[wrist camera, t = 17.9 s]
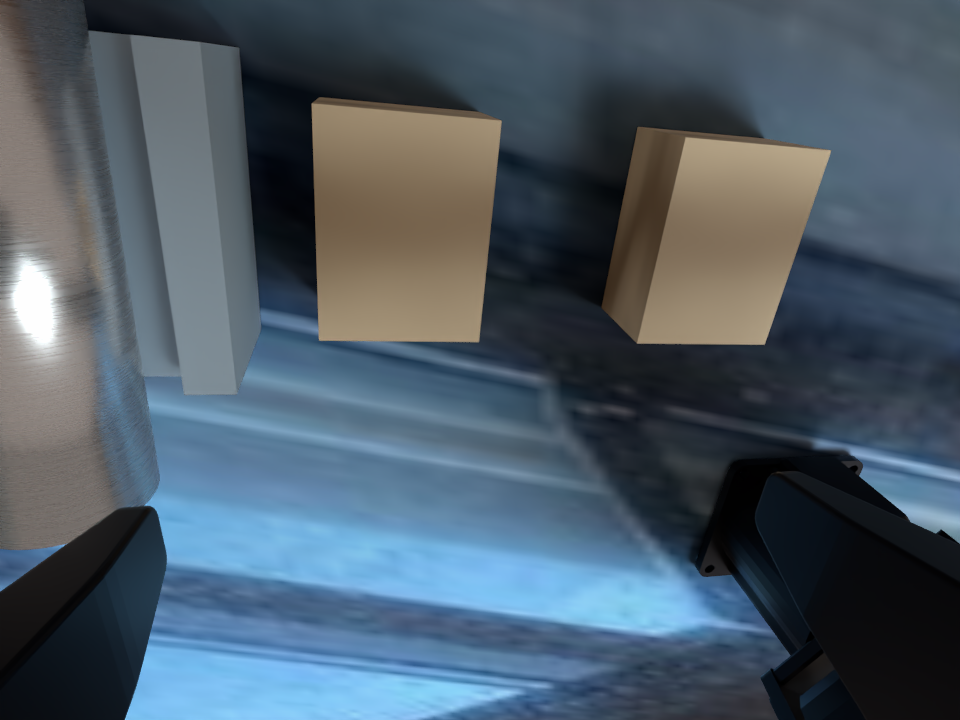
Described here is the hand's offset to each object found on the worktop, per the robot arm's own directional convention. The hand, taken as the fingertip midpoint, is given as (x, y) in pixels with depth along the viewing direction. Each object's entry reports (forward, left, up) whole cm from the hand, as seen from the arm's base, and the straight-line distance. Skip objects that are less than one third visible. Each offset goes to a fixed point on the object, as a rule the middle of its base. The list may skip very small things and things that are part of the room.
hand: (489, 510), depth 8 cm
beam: (+2, -4, -12) cm, 12 cm away
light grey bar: (+1, +9, -9) cm, 13 cm away
